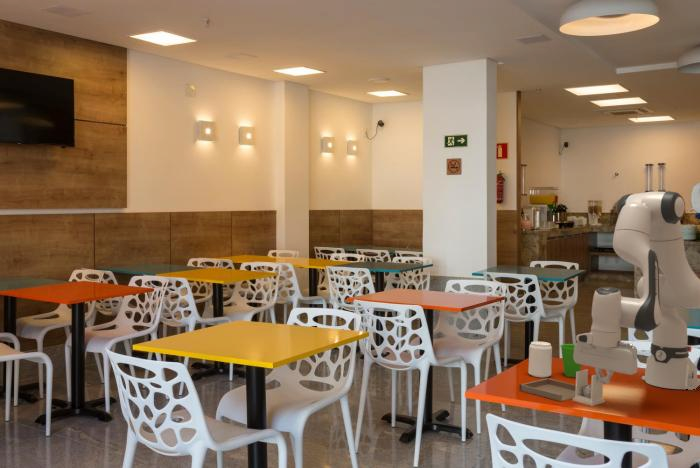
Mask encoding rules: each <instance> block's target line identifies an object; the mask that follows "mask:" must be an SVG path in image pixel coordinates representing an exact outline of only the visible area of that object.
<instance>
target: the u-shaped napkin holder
mask: <svg viewBox="0 0 700 468" xmlns="http://www.w3.org/2000/svg"><path fill="white" fill-rule="evenodd" d="M602 374H603V375H604V372H602ZM588 378H589V369H583V370H580V371H578V372H576V377H575V385H576V389H575V398H572V401H573V402H576V403H581V404H584V405H588V406H591V407H594V406H597V405H599V404H601V405H602V404H603V403H606V401H605V399H604V397H603V394H604V383H600V382H598V376H597V373H596V374H592V375H591V384H590V385H591V398H587V397H585V396H584V395H583V393H582V389H583V387H584V386H585V385H588V383H589V382H588V381H589V380H588Z"/></svg>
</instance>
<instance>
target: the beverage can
mask: <svg viewBox="0 0 700 468" xmlns="http://www.w3.org/2000/svg"><path fill="white" fill-rule="evenodd" d="M552 359H553V346H552V344H551V343H550V342H546V341H536V340H535V341H531V342H530V344H529V347H528V374H529V375H531V376H532V377H534V378H542V379H546V378H548V377H551V376H552V365H553V364H552V363H553V362H552V361H553V360H552Z"/></svg>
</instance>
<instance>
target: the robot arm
mask: <svg viewBox="0 0 700 468" xmlns="http://www.w3.org/2000/svg"><path fill="white" fill-rule="evenodd" d="M685 213H686V203H685V200H684V198H683V196H682V195H681V194H680V193H679V192H677V191H669V190H668V191H647V192H646V191H645V192H638V193H628V194H625V195H623V196H621V197H620V199H619V200H618V201H617V204H616V215H617V220H616V223H615V227H614V233H613V237H612V247H613V251H614V252H615V253H616V255H617V256H618V257H619V258H620V259H623V260H624V261H625V262H627V263H629V264H632V265H633V266H635V267H637V268H639V269H641V272H642V277H640V279H639V280H638V282H637V285H636V291H637V295H638V298H637V297H629V296H622V294H621V290H620V288H617V287H613V286H601V287H599V288H597V289H595V290H594V294H593V297H592V303H591V304H592V306H591V318H592V324H591V326H590V331H588V332H586V333H585V332H584V333H579V334H577V335H576V337H575V341H576V343H574V344H575V347H574V355H573V359H574V361H575V363H577V364H582V365H583V366H587V367H592V368H595V369H594V371H595V373H596V374H597V376H598V382H600V383H603V384H605V385H609V384H610V381H611V377H612V376H613V375H614V372H615V373H619V374H623V375H624V374H625V375H634V374H636V373H637V372H638V348H637V347H636V346H634V344H633V343H629V342H628V343H627V342H622V341H621V340H622V339H621V337H622V336H621V335H622V329H621V328H627V329H636V330H638V331H642V332H647V333H649V332H651V331H652V342H651V343H650V347H649V348H650V351H649V353H650V355H649V356H648V357H647V358H646V366H645V372H644V375H642V376H641V380H642V381H645V383H646V384H648V385H651V386H653V387H657V388H658V387H659V388H664V389H670V390H671V389H672V390H686V389H688V390H687V391H694V390H693V389H695V390H697V389H698V388H699V387H700V386H699V385H700V378H699V377H698V368H697V365H696V364H695V363H694V362H693V361H692V360H691V359H690V357H689V356H690V354H689V353H691V352H692V346H690V345H689V346H688V345H687V339H688V338H687V337H688V325H687V323H686V322H685V321H684V319H683V318H681V317H680V316H679V314H678V312H677V309H676V308H678V309H684V310H685V309H686V310H687V309H688V310H689V309H691V310H693V309H700V278H699V277H698V276H697V275H696V273H694V271H693V269H692V267H691V266H690V264H689V261H688V259H687V255H686V249H685V244H684V243H685V242H684V234H683V227H682V223H681V219H683V217H684V214H685ZM659 269H660V270H661V272H662V273H661V274H660V272H659V271H660V270H659ZM582 365H581V366H582ZM604 370H605V373H606V376H604V373H603V372H602V371H604ZM602 373H603V374H602ZM698 386H699V387H698ZM697 387H698V388H697ZM696 388H697V389H696Z"/></svg>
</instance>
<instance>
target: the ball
mask: <svg viewBox="0 0 700 468" xmlns="http://www.w3.org/2000/svg"><path fill="white" fill-rule="evenodd" d="M582 393H583V395H584V396H585V397H587V398H591V384H587V385H585V386H584V387H583V389H582Z"/></svg>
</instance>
